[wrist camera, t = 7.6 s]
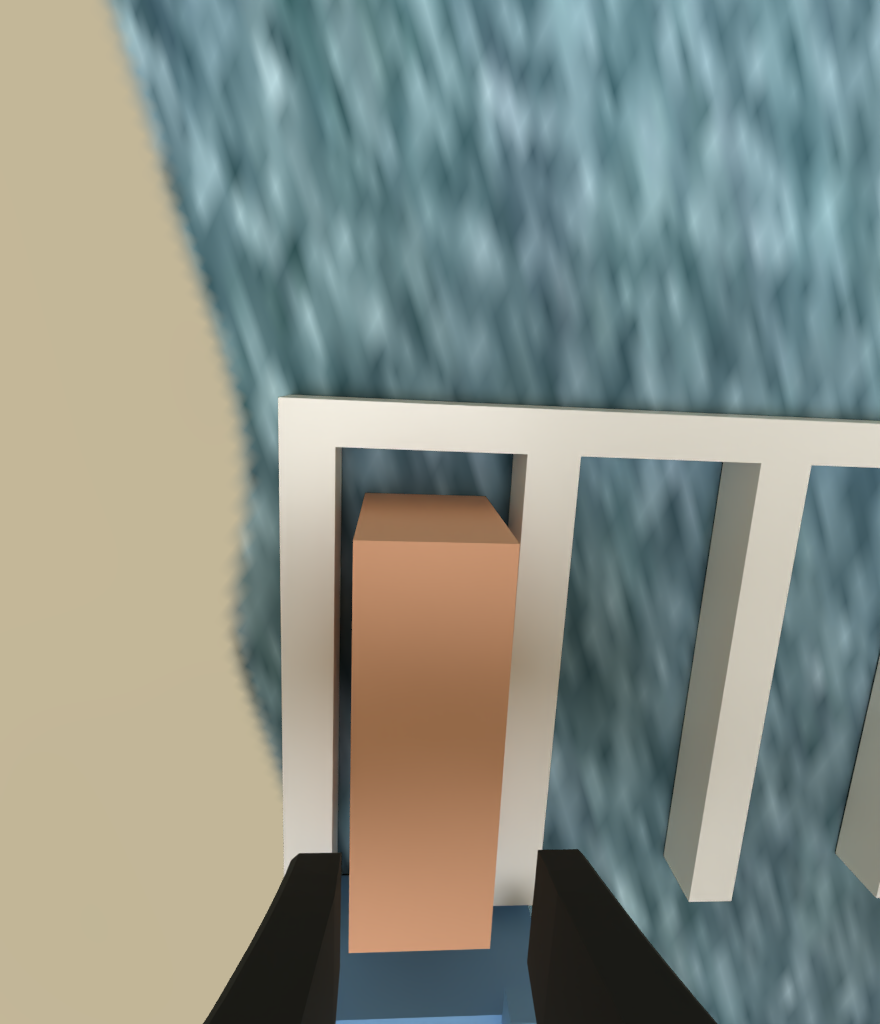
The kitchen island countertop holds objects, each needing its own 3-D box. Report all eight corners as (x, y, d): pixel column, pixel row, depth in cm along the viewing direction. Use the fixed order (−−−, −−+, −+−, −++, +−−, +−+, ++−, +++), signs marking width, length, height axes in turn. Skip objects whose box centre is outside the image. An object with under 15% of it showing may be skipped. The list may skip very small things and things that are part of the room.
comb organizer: (975, 425, 16) (1038, 431, 14) (872, 852, 18) (916, 897, 17) (290, 394, 14) (278, 397, 13) (294, 861, 17) (284, 910, 16)
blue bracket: (521, 849, 18) (566, 1021, 13) (517, 900, 18) (559, 1086, 13) (298, 852, 17) (260, 1033, 12) (298, 905, 17) (262, 1099, 13)
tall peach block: (484, 495, 15) (519, 544, 11) (466, 803, 17) (489, 948, 13) (365, 491, 15) (353, 540, 11) (361, 804, 17) (348, 952, 13)
